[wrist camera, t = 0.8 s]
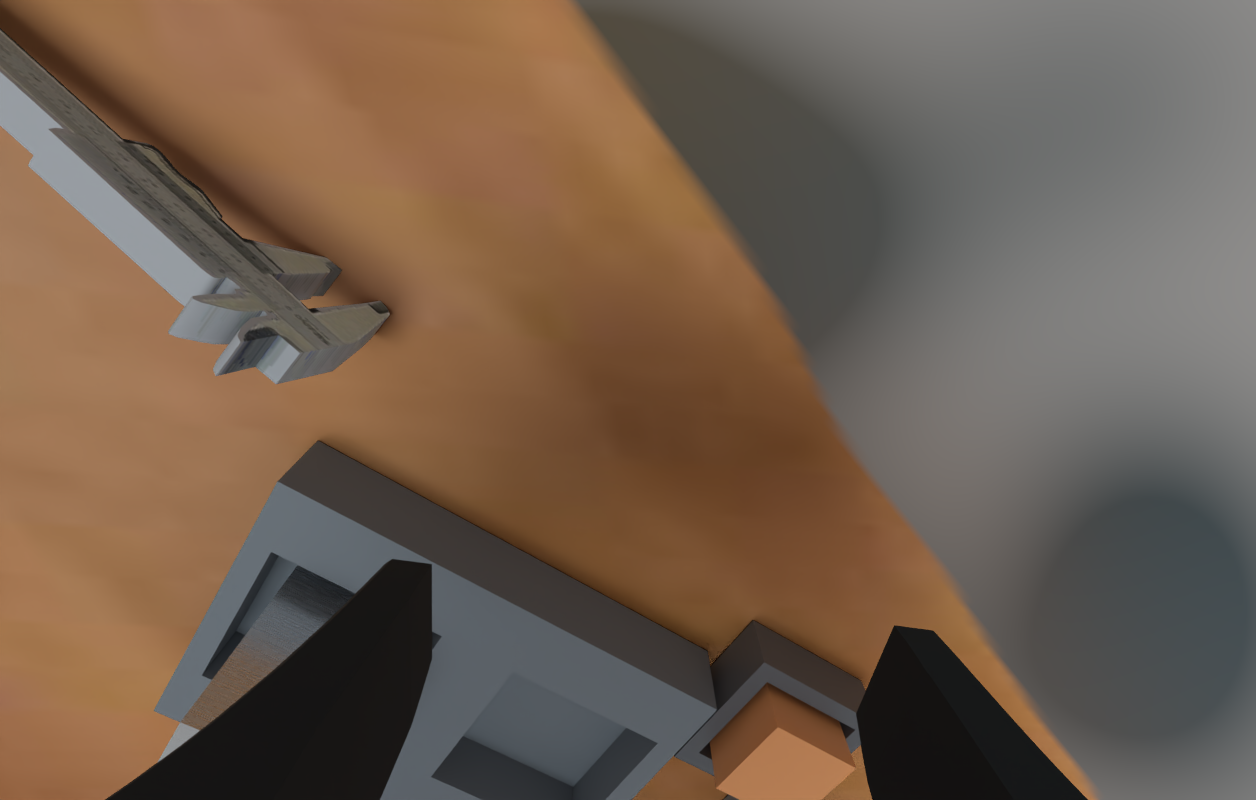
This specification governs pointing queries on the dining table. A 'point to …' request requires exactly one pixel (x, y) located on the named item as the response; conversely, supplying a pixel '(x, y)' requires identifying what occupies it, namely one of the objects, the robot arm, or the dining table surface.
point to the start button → (780, 750)
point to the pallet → (472, 646)
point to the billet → (265, 646)
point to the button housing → (784, 667)
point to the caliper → (182, 236)
